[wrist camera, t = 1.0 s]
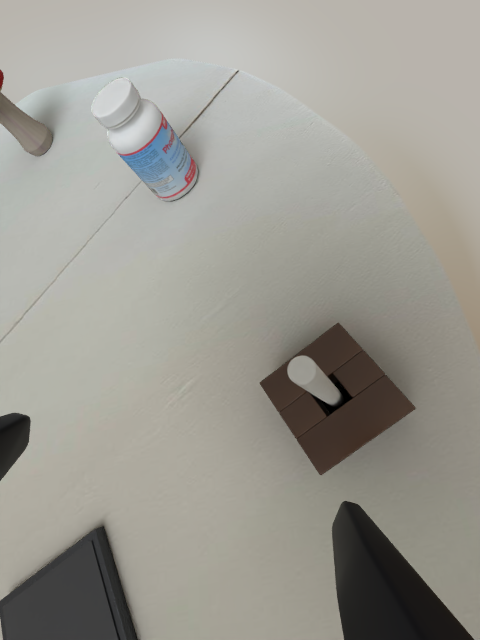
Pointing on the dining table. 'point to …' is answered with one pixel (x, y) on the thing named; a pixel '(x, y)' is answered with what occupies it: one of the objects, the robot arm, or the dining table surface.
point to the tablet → (70, 598)
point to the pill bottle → (145, 140)
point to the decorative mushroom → (24, 126)
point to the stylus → (314, 380)
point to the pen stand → (350, 419)
